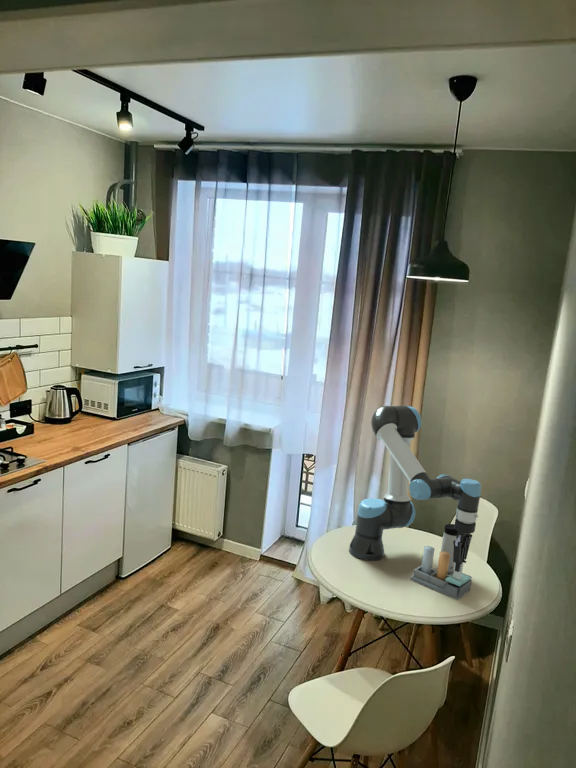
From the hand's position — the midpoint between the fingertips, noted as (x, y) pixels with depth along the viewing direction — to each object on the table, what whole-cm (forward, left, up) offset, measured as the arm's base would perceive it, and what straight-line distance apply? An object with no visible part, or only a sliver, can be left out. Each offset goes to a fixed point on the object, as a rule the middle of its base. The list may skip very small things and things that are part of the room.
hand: (457, 578), depth 220 cm
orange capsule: (-7, +2, -5) cm, 9 cm away
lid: (0, +2, -1) cm, 2 cm away
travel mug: (-11, +16, -6) cm, 20 cm away
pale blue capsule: (-14, +2, -6) cm, 15 cm away
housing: (-7, +2, -6) cm, 9 cm away
